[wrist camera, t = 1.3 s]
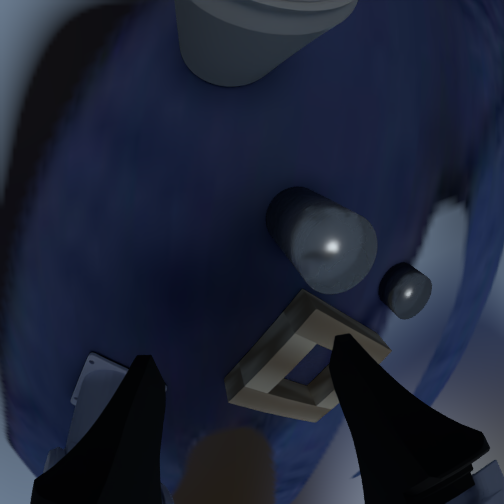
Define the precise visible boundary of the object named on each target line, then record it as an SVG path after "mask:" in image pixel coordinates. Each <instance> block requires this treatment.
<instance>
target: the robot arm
mask: <svg viewBox="0 0 504 504" xmlns="http://www.w3.org/2000/svg"><path fill="white" fill-rule="evenodd" d="M91 360H92V361H91ZM329 370H330V374H331V378H332V382H333V386H334V390H335V392H336V395H337V397H338V400H339V403H340V405H341V408H342V410H343V413H344V416H345V418H346V421H347V423H348V426H349V429H350V431H351V434H352V438H353V441H354V445H355V449H356V454H357V458H358V463H359V468H360V473H361V478H362V485H363V491H364V500H365V504H504V477H503V474H502V472H501V469H500V467H499V465H498V462H497V460H494V461H492V462H491V463H489V464H488V465H486V466H485V467H484V468H482V469H481V470H479V471H478V472H476V473H475V474H473V475H471V473H470V472H471V471H472V470H473V467H472V463H473V462H474V461H476V460H477V459H479V458H480V457H481V456H482V455H484V454H485V453H487V452H488V451H489V449H490V447H489V445H488V443H487V440H486V438H485V436H484V435H483V433H482V432H480V431H478V430H475V429H472V428H470V427H467V426H465V425H462V424H460V423H458V422H456V421H454V420H452V419H450V418H448V417H446V416H445V415H443V414H441V413H439V412H438V411H436V410H434V409H433V408H431V407H430V406H428V405H427V404H425V403H424V402H422V401H421V400H419V399H418V398H417V397H415V396H414V395H413V394H411V393H410V392H409V391H408V390H406V389H405V388H404V387H403V386H402V385H400V384H399V383H398V382H397V381H396V380H395V379H394V378H393V377H392V376H390V375H389V374H388V373H387V372H386V371H385V370H384V369H383V368H382V367H381V366H380V365H379V364H378V363H377V362H376V361H375V360H374V359H373V358H372V357H371V356H370V355H369V353H368V352H367V351H366V350H365V349H364V348H363V347H362V346H361V345H360V344H359V343H358V342H357V340H356V339H355V338H354V337H353V336H352V335H351V334H350V333H347V334H342V335H336V336H335V339H334V344H333V349H332V354H331V358H330V363H329ZM166 390H167V386H166V385H165V382H164V380H163V378H162V376H161V374H160V372H159V370H158V368H157V366H156V364H155V362H154V360H153V358H152V355H137V356H136V358H135V359H134V361H133V363H132V364H131V366H130V368H129V369H127V368H125V367H123V366H121V365H118V364H116V363H114V362H112V361H110V360H108V359H106V358H104V357H102V356H100V355H98V354H96V353H90V354H89V355H88V358H87V360H86V362H85V365H84V367H83V370H82V372H81V375H80V377H79V380H78V382H77V385H76V387H75V390H74V392H73V395H72V398H71V403H72V404H73V405H75V410H74V414H73V418H72V422H71V426H70V430H69V435H68V439H67V444H66V448H65V449H62V448H60V447H57V448H56V449H53V450H50V451H49V454H48V457H47V460H46V464H45V467H44V472H43V474H42V475H41V476H39V477H38V478H36V479H35V480H34V484H33V490H32V496H31V502H30V504H174V501H173V499H172V496H171V495H170V493H169V491H168V489H167V488H166V487H165V485H163V484H162V483H160V447H161V438H162V430H163V421H164V413H165V392H166Z"/></svg>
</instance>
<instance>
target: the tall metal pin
mask: <svg viewBox="0 0 504 504" xmlns="http://www.w3.org/2000/svg"><path fill="white" fill-rule="evenodd" d="M266 226H267V229H268V232H269V233H270V235H271V236H272V238H273V239H274V240H275V242H276V243H277V244H278V246H279V247H280V248H281V249H282V251H283V252H284V253H285V255H286V256H287V257H288V259H289V260H290V261H291V263H292V264H293V265H294V267H295V268H296V269H297V271H298V272H299V273H300V275H301V276H302V277H303V279H304V280H305V281H306V283H307V284H308V285H309V286H310V287H311V288H313V289H314V290H316V291H318V292H320V293H324V294H337V293H341V292H344V291H347V290H349V289H351V288H352V287H354V286H355V285H357V284H358V283H359V282H360V281H361V280H362V279H363V278H364V277H365V276H366V275H367V273H368V272H369V271H370V269H371V267H372V265H373V263H374V260H375V257H376V253H377V238H376V234H375V231H374V229H373V227H372V225H371V224H370V223H369V222H368V220H366V219H365V218H364V217H362V216H360V215H358V214H356V213H355V212H353V211H351V210H349V209H347V208H345V207H343V206H341V205H340V204H338V203H336V202H334V201H332V200H330V199H328V198H326V197H324V196H322V195H320V194H318V193H316V192H314V191H312V190H310V189H308V188H305V187H291V188H287V189H285V190H283V191H281V192H280V193H278V194H277V195H276V196H275V197H274V198H273V200H272V201H271V203H270V204H269V206H268V209H267V213H266Z"/></svg>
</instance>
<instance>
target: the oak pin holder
mask: <svg viewBox="0 0 504 504" xmlns="http://www.w3.org/2000/svg"><path fill="white" fill-rule="evenodd" d="M347 333H350V334H351V335H352V336H353V337H354V338H355V339H356V340H357V342H358V343H359V344H360V345H361V346H362V347H363V348H364V349H365V350H366V351H367V352H368V353H369V355H370V356H371V357H372V358H373V359H374V360H375V361H376V362H377V363H378V364H380V363H381V362H382V361H383V360H384V358H385V357H387V355H388V354H389V353H390V352H391V351H392V350H391V349H390V348H389V347H388V346H387V344H386V343H385V342H384V341H383V340H382V338H381V337H380V336H379V335H378V334H377V333H376V332H374V331H372V330H371V329H369V328H367V327H366V326H364V325H362V324H361V323H359V322H357V321H356V320H354V319H352V318H351V317H349V316H347V315H346V314H344V313H342V312H341V311H339V310H337V309H336V308H334V307H332V306H331V305H329V304H327V303H326V302H324V301H322V300H321V299H319V298H317V297H316V296H314V295H312V294H311V293H309V292H307V291H306V290H304V289H301V291H300V292H299V293H298V294H297V296H296V297H295V298H294V299H293V300H292V302H291V303H290V304H289V305H288V306H287V308H286V309H285V310H284V311H283V312H282V314H281V315H280V316H279V317H278V318H277V320H276V321H275V322H274V323H273V324H272V325H271V327H270V328H269V329H268V330H267V331H266V332H265V334H264V335H263V336H262V337H261V338H260V339H259V340H258V342H257V343H256V344H255V345H254V346H253V347H252V348H251V349H250V351H249V352H248V353H247V354H246V355H245V356H244V357H243V358H242V360H241V361H240V362H239V363H238V364H237V365H236V366H235V367H234V368H233V369H232V370H231V372H230V373H229V374H228V375H227V376H226V377H225V378H224V382H225V387H226V393H227V398H228V402H229V403H232V404H236V405H239V406H243V407H247V408H250V409H254V410H258V411H262V412H266V413H271V414H275V415H280V416H284V417H289V418H294V419H299V420H305V421H310V422H317V421H318V420H319V419H321V418H322V417H323V416H324V415H325V414H327V413H328V412H329V411H330V410H331V409H332V408H334V407H335V406H336V405H337V404H338V403H339V400H338V397H337V395H336V392H335V390H334V386H333V382H332V378H331V374H330V370H329V365H328V366H327V367H326V368H325V369H324V370H323V371H322V372H321V373H320V374H319V375H318V376H317V377H316V378H315V379H314V380H313V381H311V382H310V383H309V384H308V385H307V386H306V385H302V384H299V383H296V382H293V381H290V380H287V379H284V377H285V376H286V375H287V374H288V373H289V372H290V371H291V370H292V369H293V368H294V367H295V366H296V365H297V364H298V363H299V362H300V361H301V360H302V359H303V358H304V357H305V356H306V355H307V354H308V353H309V352H310V350H311V349H312V348H313V347H314V346H315V345H316V344H319V345H321V346H323V347H326V348H328V349H330V350H332V349H333V344H334V339H335V336H336V335H342V334H347Z"/></svg>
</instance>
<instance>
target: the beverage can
mask: <svg viewBox="0 0 504 504" xmlns="http://www.w3.org/2000/svg"><path fill="white" fill-rule="evenodd" d="M357 2H358V0H175V9H176V19H177V28H178V36H179V45H180V52H181V55H182V58H183V60H184V62H185V64H186V65H187V67H188V68H189V69H190V70H191V71H192V72H193V73H194V74H195V75H197V76H198V77H199V78H201V79H203V80H205V81H207V82H209V83H212V84H215V85H220V86H228V87H234V86H242V85H247V84H250V83H253V82H255V81H257V80H259V79H261V78H262V77H264V76H265V75H266V74H268V73H269V72H270V71H272V70H273V69H274V68H275V67H277V66H278V65H279V64H281V63H282V62H283V61H285V60H286V59H287V58H289V57H290V56H291V55H293V54H294V53H296V52H297V51H298V50H300V49H301V48H303V47H304V46H306V45H307V44H308V43H310V42H311V41H313V40H314V39H316V38H317V37H319V36H320V35H322V34H323V33H325V32H326V31H328V30H330V29H331V28H333V27H334V26H336V25H338V24H339V23H341V22H342V21H343V20H345V19H346V18H347V17H348V16H349V15H350V14H351V12H352V11H353V10H354V8H355V6H356V4H357Z"/></svg>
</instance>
